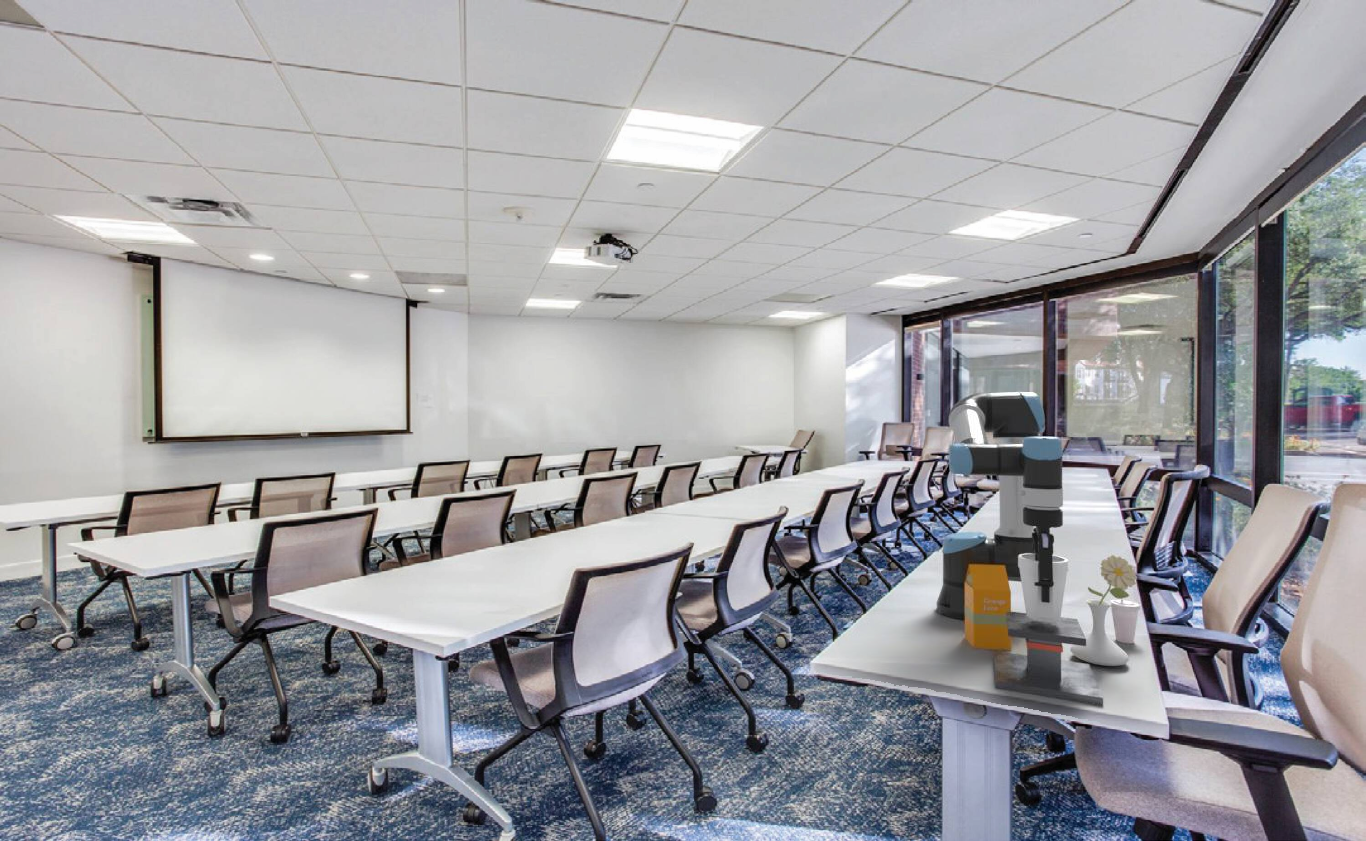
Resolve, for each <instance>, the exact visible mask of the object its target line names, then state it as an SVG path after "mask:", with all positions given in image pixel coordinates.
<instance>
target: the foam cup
mask: <svg viewBox="0 0 1366 841" xmlns="http://www.w3.org/2000/svg"><path fill="white" fill-rule="evenodd" d="M1052 562H1053V582H1054V585H1053V586H1052V587H1053V618H1047V617H1038V593H1037V586H1035V584H1034V583H1035V582H1038V563H1039V561H1035V553H1025V554H1020V555H1019V556H1018V567H1019V569H1020V575H1021V582H1022V583H1021V582H1020V583H1021V588H1022V595H1023V596H1022V597H1023V600H1024V601H1023V603H1024V608H1025V613H1027V617H1029V618H1031V619H1034V620H1038V621H1043V622H1057V621H1060V617H1062V616H1061V615H1062V608H1063V601H1064V595H1065V588H1066V580H1067V575H1068V572H1069V558H1068V559H1067V558H1066V557H1063V556H1059V555H1055V554H1053V555H1052ZM1043 580H1049V579H1043Z"/></svg>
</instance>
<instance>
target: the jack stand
mask: <svg viewBox="0 0 1366 841" xmlns="http://www.w3.org/2000/svg"><path fill="white" fill-rule="evenodd" d="M1006 620H1007V630H1008V636H1011V638H1013V637H1015V638H1020V639H1025V642H1026V643H1025V645H1026V654H1019V653H1012V652H1005V651H999V650H994V651H993V652H994V656H993V657H994V683H995V684H994V685H995V689H1000V690H1007V691H1012V692H1019V693H1024V694H1031V695H1037V696H1043V697H1049V698H1054V699H1060V700H1061V699H1062V700H1067V701H1074V702H1079V703H1085V704H1092V705H1096V706H1097V705H1098V706H1104V696H1103V694H1102V691H1101V690H1100V687H1099V685H1098V682H1097V680H1096V678H1095V675H1094V673H1093V671H1092V667H1091V666H1090V663H1082V662H1075V661H1068V660H1063V659H1062V653H1064V650H1063V649H1064V647H1063V644H1066V645H1080V646H1086V638H1085V637H1086V636H1085V634H1084V631H1083V629H1082V627H1081V624H1080V622H1079V621H1078V618H1072V617H1071V618H1070V617H1062V616H1061V617H1060V621H1057V622H1043V621H1038V620H1034V619H1031V618H1029V617H1027V613H1026V612H1018V611H1012V610H1011V611H1006Z"/></svg>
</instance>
